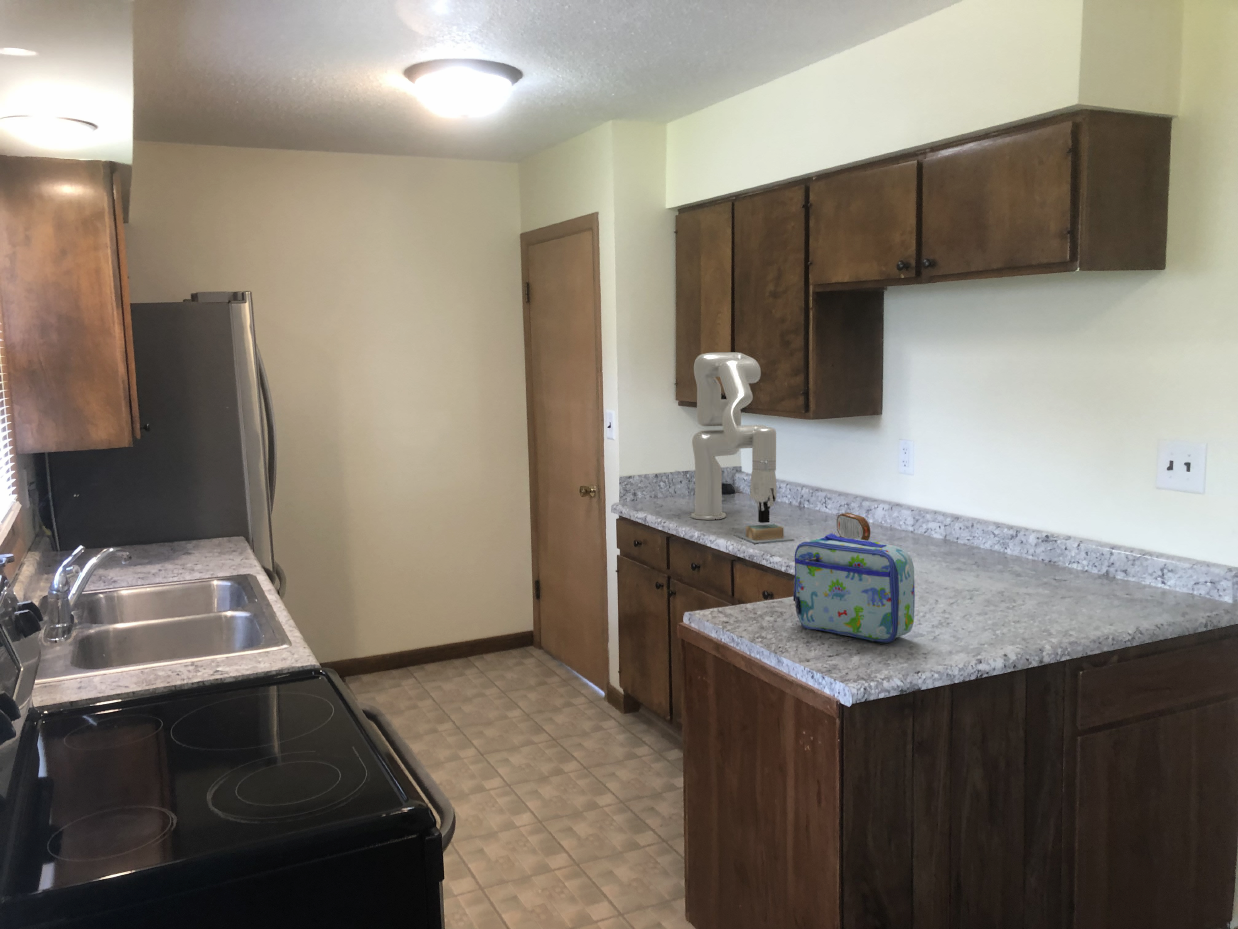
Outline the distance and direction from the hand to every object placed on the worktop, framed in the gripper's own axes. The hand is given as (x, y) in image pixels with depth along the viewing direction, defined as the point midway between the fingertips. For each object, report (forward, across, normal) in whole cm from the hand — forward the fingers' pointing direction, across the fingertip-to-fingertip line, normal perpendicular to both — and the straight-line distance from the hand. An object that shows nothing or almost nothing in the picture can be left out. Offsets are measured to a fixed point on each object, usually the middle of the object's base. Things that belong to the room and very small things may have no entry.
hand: (763, 522), depth 309 cm
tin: (+6, +14, +24) cm, 28 cm away
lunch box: (+6, +97, -30) cm, 102 cm away
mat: (+5, 0, 0) cm, 5 cm away
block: (+3, -2, -1) cm, 3 cm away
